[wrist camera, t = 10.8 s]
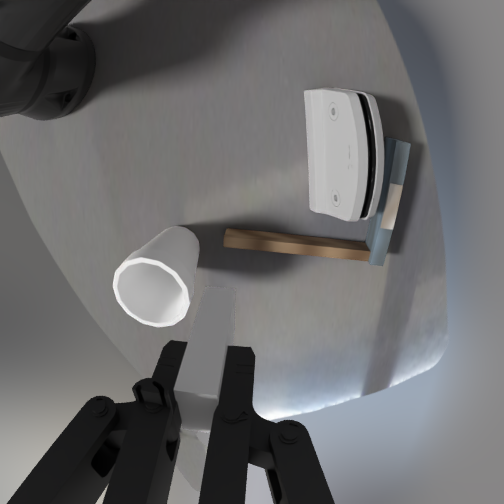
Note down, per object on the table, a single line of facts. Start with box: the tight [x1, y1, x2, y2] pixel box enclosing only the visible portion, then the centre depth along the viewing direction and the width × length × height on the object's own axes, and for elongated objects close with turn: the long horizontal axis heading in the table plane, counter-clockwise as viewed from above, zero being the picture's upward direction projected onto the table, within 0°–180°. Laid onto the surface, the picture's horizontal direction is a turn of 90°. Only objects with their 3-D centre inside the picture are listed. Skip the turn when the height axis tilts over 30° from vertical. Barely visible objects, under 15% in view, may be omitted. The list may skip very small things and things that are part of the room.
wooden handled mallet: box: [223, 137, 411, 266], centre depth 39 cm, size 22×17×4 cm
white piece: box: [304, 87, 384, 222], centre depth 35 cm, size 17×5×10 cm, turn 5°
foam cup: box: [113, 226, 200, 327], centre depth 40 cm, size 10×9×13 cm
